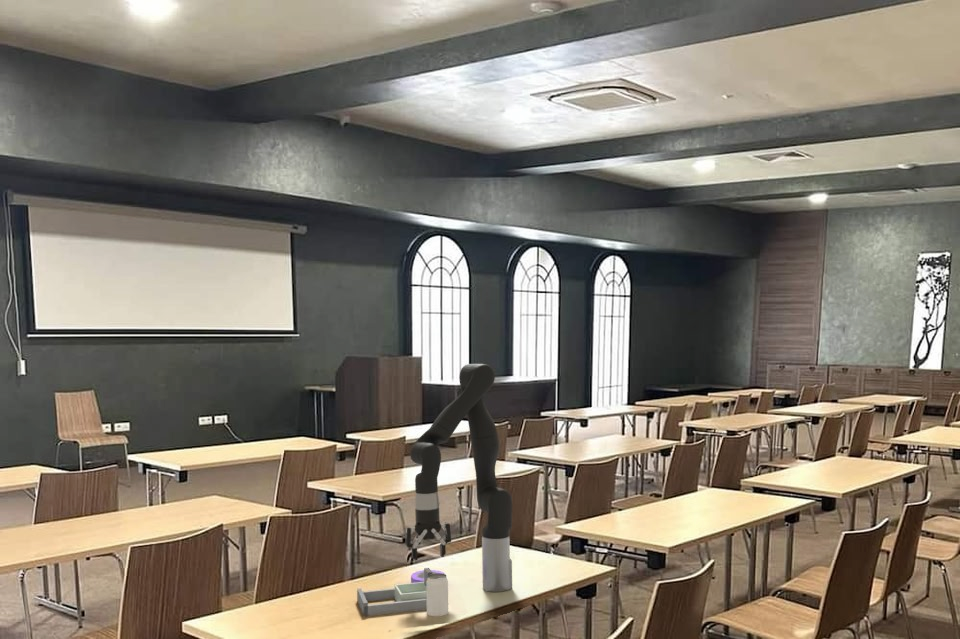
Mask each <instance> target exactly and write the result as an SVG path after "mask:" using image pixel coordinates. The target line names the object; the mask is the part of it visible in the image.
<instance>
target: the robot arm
mask: <svg viewBox="0 0 960 639" xmlns="http://www.w3.org/2000/svg"><path fill="white" fill-rule="evenodd" d="M458 378H459V385H460V390H461V393H460V394H459V396H457V397H456V398H455V399H454V400H453V401H451V402H450V403H449V404H447V406H446V407H445V408H443V410H442V411H441V412H440V413H439V415H438V416H437V417H436V419H435V420H434V421H433V423H432V424H431V426H430V427H429V429H427V430H426V431H425V432H424V433H423V434H422V435H421V436H420V437H419V438H417V439H416V441H414V443H413V445H412V446H411V448H410V451H409V452H410V453H409V456H410V460H411V461H412V462H413V463H415V464H417V465H421V470H420V473H417V474H416V476H415V479H414V482H415V484H414V485H415V496H414V510H415V512H414V513H415V516H414V517H415V525H414V526H406V527H405V540H404V541H405V543H404V544H405V546H406V547H407V548H411V557H412V559H413V560H414V561H418V548H417V547H418V546H419V543H421V542H422V540H423V541H425V540H434V539H435V538H436V539H437V540H438V541H439V556H440V557H441V558H444V557H445V556H446V553H447V552H446V551H447V550H446V545H447V544H449V543H451V542H452V536H451V525H450V523H449V522H448V521H445V522H444V523H441V522H440V521H441V520H440V496H439V490H438V489H439V488H438V487H439V486H438V477H439V474H440V472H439V471H440V467H441V464H442V463H441V462H442V454H441V450H440V448H439V447H438V446H439V445H441V444H445V443H447V442H448V441H449V440H450V438H451V436H452V435H453V434H454V432H455V430H457V428H458V426H459V425H460V423H461V421H463V419H464V418H465V417H466V416H467V421H468V428H469V429H468V430H469V437H470V439H469V440H470V444H471V451H472V454H473V462H474V463H473V464H474V470H475V480H476V500H477V501H476V502H477V504H478V505H477V506H478V507H479V509H480V510H481V511H482V512H483V513H485V514H488V516H487V524H486V525H484V526H483V527H482V528H481V541H482V542H481V552H482V553H481V554H482V555H481V560H482V562H481V563H482V567H481V568H482V572H481V573H482V589H483V590H485V591H486V592H493V593H499V592H506V591H509V590H512V589H513V560H512V559H511V558H510V557H511V554H510V553H511V549H510V548H511V547H510V534H511V533H510V532H511V529H512V525H513V500H512V499H513V498H512V496H511V494H510V492H509V491H508V490H506V489H505V488H501V487H498V484H497V482H498V481H497V477H496V465H497V460H498V457H499V451H500V443H499V441H500V440H499V436H498V434H499V433H498V428H497V425H496V423H495V421H494V420H493V417H492V416H491V413H490V412H489V411H488V409H487V407H486V405H485V401H484V396H485V395H486V393H487V392H488V391H489V390H490V389H491V388H492V386H493V385H494V383H495V378H496V375H495V371H494V369H493V367H492V366H490V365H489V364H486V363H468V364H465V365H463V366H462V368H461V369H460V371H459V377H458ZM441 529H443V531H444V534H445V535H444V536H445V538H443V537H442V536H441V535H440V533H439V532H440V531H441ZM414 531H415V533H416V535H415V536H414V538H413V541H412V535H413V534H414ZM411 541H412V542H411Z"/></svg>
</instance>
